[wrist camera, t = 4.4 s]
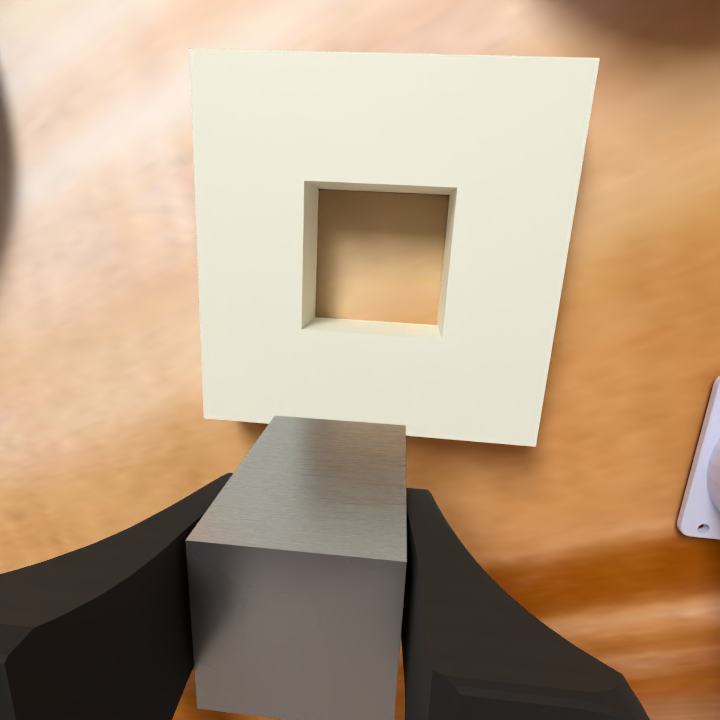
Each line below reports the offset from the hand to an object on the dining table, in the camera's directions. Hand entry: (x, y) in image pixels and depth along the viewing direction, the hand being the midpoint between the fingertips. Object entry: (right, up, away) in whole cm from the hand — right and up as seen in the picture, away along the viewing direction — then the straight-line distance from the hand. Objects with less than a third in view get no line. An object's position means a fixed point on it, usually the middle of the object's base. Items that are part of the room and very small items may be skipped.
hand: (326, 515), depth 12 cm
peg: (0, 0, +2) cm, 2 cm away
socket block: (+2, +9, +8) cm, 12 cm away
